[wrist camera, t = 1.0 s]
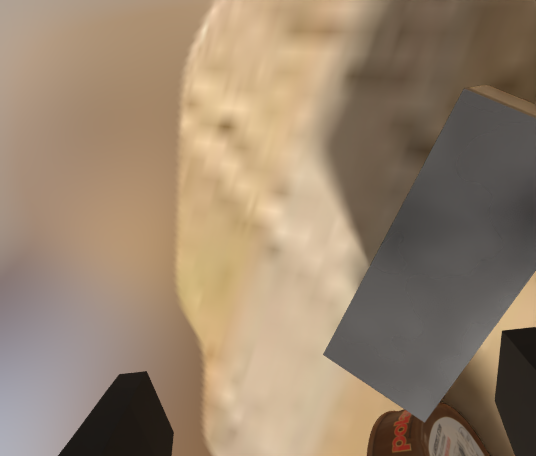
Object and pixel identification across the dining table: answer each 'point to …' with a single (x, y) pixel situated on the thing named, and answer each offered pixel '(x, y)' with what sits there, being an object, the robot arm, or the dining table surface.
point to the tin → (424, 435)
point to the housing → (448, 256)
